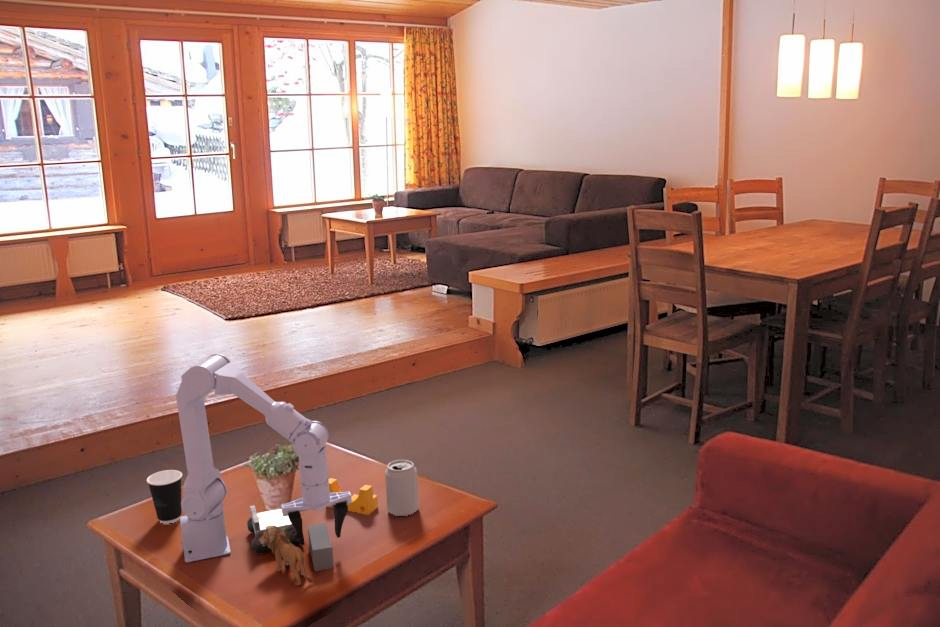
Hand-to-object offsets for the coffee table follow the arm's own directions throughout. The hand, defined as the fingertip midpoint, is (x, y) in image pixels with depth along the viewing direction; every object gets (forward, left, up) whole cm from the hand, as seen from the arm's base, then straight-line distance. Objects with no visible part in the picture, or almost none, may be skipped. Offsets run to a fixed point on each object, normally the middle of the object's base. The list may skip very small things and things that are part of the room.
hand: (320, 539), depth 181 cm
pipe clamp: (+11, +20, -5) cm, 24 cm away
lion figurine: (-8, -4, -4) cm, 10 cm away
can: (+22, +13, -4) cm, 26 cm away
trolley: (-8, +12, -4) cm, 15 cm away
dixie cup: (-30, +32, -4) cm, 44 cm away
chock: (0, 0, -4) cm, 4 cm away
